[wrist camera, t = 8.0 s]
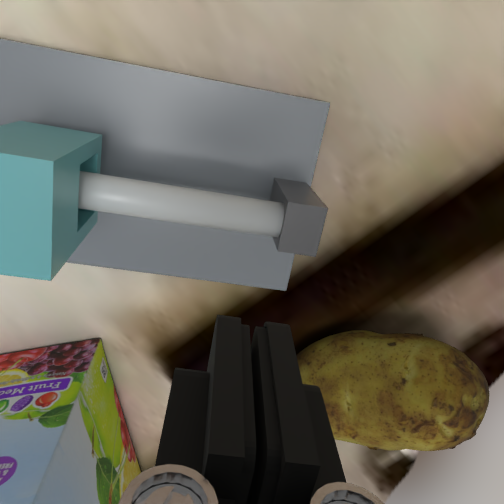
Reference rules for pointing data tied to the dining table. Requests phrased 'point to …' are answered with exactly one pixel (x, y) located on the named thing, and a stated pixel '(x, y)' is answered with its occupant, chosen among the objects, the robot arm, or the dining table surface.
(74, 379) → the snack box
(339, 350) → the potato
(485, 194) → the dining table surface
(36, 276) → the teal sliding cube
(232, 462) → the robot arm
